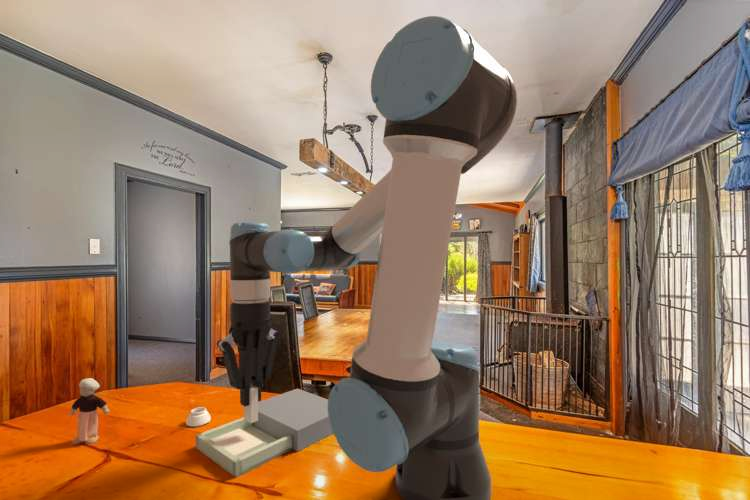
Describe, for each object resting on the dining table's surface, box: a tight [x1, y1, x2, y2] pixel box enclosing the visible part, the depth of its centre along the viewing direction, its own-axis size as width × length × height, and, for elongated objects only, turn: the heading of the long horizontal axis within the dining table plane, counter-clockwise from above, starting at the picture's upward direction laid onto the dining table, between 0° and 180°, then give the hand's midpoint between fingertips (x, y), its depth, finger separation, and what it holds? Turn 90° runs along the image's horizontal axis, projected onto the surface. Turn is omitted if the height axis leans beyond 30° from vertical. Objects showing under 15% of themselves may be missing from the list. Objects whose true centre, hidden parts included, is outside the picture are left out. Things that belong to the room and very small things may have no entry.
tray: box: [195, 416, 293, 478], centre depth 72 cm, size 15×12×2 cm
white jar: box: [185, 406, 212, 428], centre depth 84 cm, size 5×3×5 cm
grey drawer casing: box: [252, 388, 334, 452], centre depth 82 cm, size 18×14×4 cm
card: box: [211, 428, 264, 458], centre depth 71 cm, size 9×6×1 cm, turn 49°
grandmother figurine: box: [69, 377, 110, 445], centre depth 76 cm, size 8×4×13 cm, turn 102°
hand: (250, 419), depth 73 cm, fingers closed
